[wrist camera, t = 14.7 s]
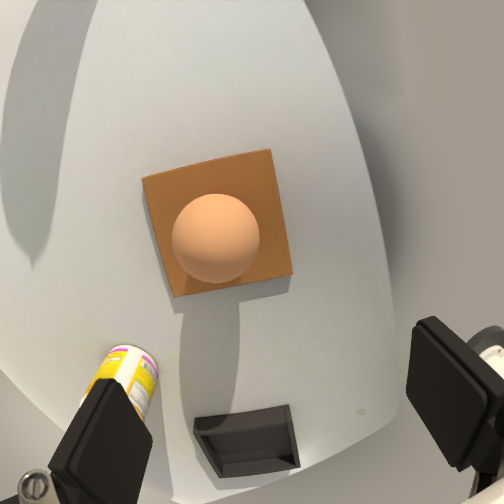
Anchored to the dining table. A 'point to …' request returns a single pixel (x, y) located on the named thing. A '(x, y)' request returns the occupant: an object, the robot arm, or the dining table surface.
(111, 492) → the robot arm
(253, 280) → the plate
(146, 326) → the dining table surface
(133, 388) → the supplement bottle
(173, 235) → the egg
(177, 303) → the dining table surface
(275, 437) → the tray
